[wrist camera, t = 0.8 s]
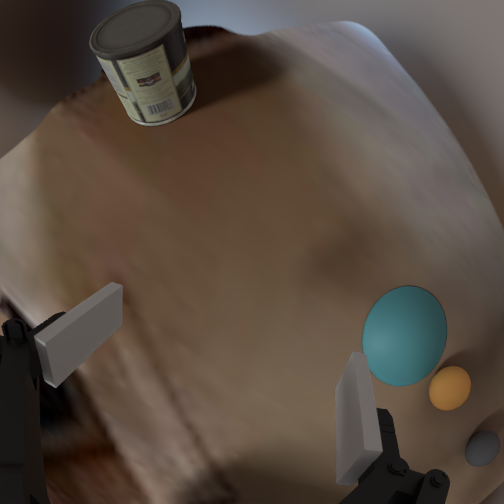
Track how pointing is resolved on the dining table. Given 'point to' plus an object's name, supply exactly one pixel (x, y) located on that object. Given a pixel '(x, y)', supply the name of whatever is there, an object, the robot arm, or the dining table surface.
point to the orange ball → (449, 388)
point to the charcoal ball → (482, 448)
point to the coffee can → (147, 60)
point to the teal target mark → (404, 336)
